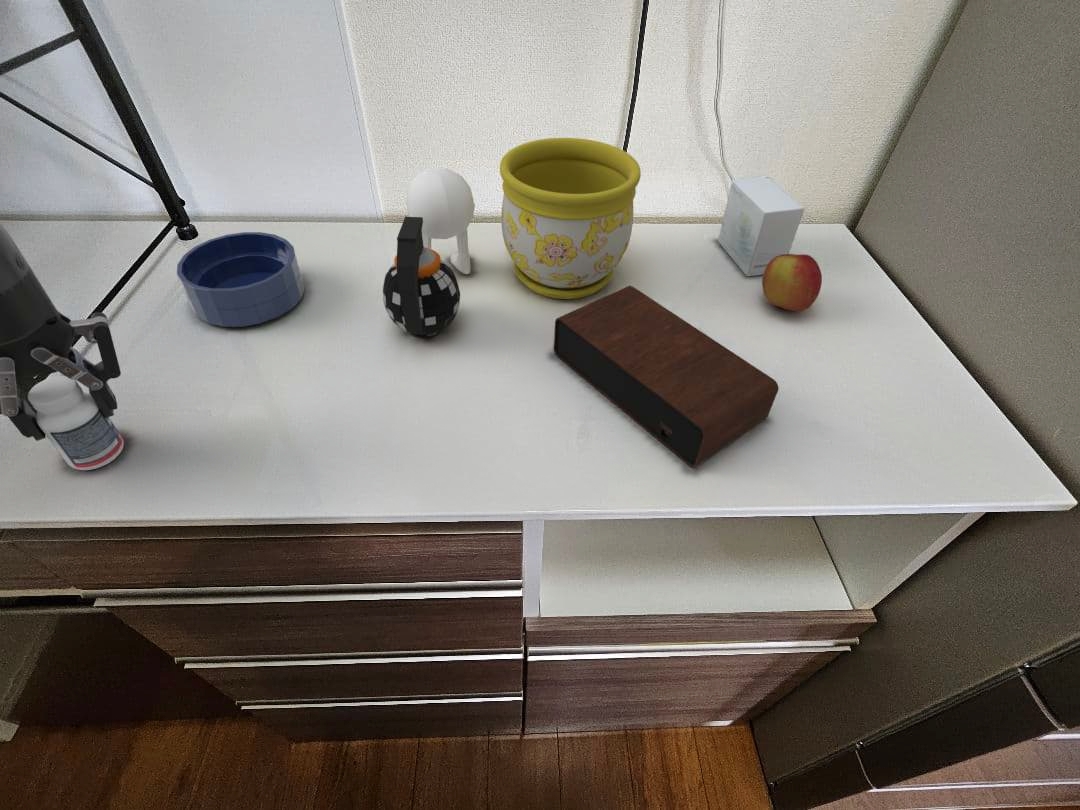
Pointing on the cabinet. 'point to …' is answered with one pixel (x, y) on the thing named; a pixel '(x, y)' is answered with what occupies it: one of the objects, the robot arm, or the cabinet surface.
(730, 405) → the alarm clock
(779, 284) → the apple
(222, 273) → the basin
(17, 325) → the robot arm
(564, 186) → the flowerpot
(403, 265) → the grenade
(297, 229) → the cabinet surface
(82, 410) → the pill bottle
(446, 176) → the toy character
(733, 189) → the cosmetics box
